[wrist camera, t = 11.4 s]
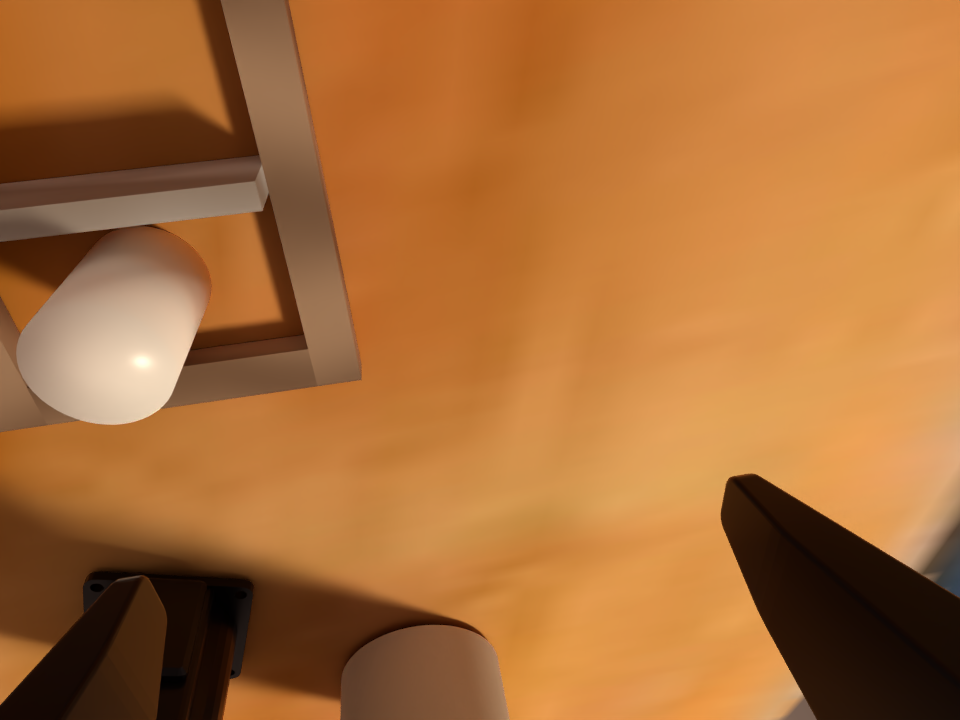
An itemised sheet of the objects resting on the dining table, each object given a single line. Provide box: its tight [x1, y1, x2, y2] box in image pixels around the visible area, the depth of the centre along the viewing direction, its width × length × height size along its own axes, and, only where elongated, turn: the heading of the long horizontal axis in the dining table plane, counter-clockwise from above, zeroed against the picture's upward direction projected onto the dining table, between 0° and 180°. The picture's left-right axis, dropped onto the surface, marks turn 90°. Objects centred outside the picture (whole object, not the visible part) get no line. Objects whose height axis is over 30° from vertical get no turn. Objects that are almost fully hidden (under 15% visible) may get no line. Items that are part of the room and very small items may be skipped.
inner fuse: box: [16, 226, 212, 424], centre depth 19 cm, size 4×4×5 cm
